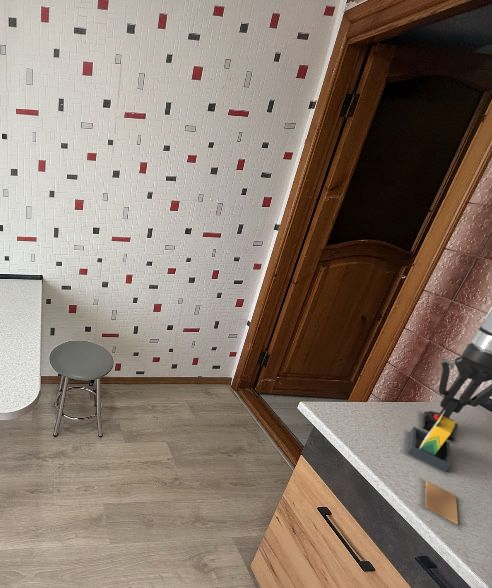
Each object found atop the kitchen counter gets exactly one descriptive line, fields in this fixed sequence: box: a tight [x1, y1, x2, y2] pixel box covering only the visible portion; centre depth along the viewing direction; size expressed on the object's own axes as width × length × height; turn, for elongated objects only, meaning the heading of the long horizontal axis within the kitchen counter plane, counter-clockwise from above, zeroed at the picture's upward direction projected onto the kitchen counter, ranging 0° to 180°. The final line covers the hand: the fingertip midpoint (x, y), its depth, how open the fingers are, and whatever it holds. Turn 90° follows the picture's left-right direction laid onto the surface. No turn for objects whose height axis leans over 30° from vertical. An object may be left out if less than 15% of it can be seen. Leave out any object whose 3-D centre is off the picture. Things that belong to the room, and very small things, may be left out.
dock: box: [407, 426, 452, 473], centre depth 88 cm, size 7×11×2 cm
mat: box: [424, 480, 459, 525], centre depth 74 cm, size 5×9×1 cm, turn 135°
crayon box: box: [417, 410, 457, 457], centre depth 86 cm, size 7×3×12 cm, turn 126°
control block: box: [422, 410, 459, 442], centre depth 96 cm, size 9×6×3 cm
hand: (442, 417), depth 96 cm, fingers closed
